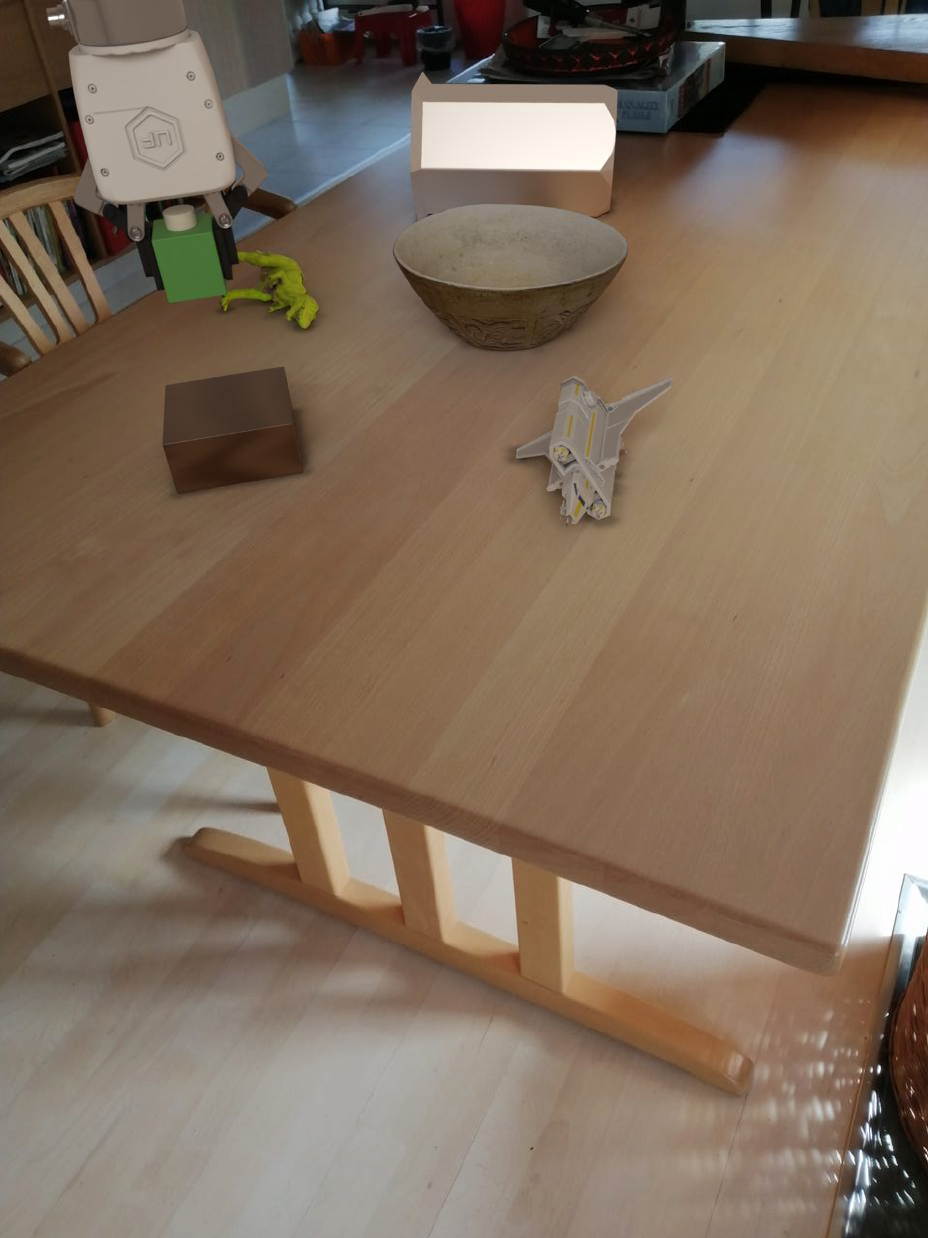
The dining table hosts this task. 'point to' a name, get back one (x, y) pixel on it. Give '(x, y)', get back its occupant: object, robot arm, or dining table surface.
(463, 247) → the bowl
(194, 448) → the walnut block
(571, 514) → the toy spacecraft
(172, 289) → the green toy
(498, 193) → the white boxy piece
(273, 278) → the dinosaur figurine
